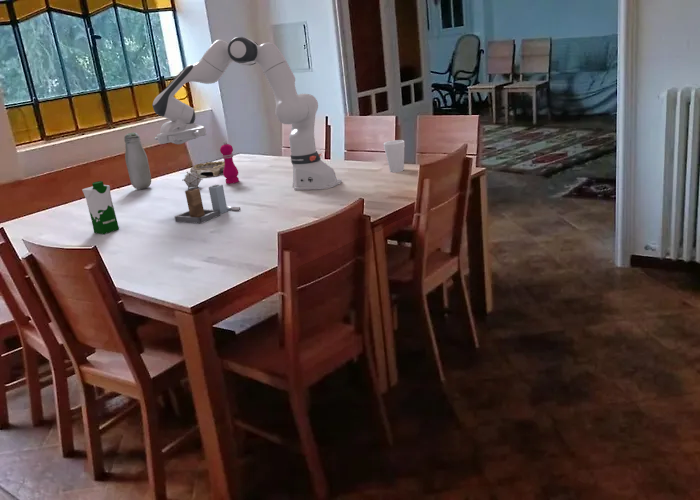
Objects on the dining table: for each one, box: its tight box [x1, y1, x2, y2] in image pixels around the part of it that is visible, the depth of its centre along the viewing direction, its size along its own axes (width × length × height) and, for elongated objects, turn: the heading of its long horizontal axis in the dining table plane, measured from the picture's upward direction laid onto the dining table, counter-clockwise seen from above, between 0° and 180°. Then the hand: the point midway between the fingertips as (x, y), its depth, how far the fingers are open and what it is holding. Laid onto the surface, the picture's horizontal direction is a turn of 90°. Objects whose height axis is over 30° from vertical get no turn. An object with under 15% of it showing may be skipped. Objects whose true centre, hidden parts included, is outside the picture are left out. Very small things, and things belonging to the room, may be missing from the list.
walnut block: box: [184, 188, 205, 217], centre depth 273 cm, size 4×4×11 cm
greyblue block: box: [208, 184, 229, 215], centre depth 278 cm, size 4×4×11 cm
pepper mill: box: [219, 140, 240, 185], centre depth 329 cm, size 7×7×20 cm
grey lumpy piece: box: [183, 171, 203, 190], centre depth 329 cm, size 9×8×10 cm
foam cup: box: [383, 139, 406, 173], centre depth 309 cm, size 10×9×13 cm
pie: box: [184, 160, 225, 179], centre depth 362 cm, size 28×27×5 cm
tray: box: [174, 208, 221, 224], centre depth 274 cm, size 14×11×2 cm
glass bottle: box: [123, 132, 152, 190], centre depth 340 cm, size 10×10×28 cm
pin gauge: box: [227, 206, 241, 212], centre depth 281 cm, size 10×2×2 cm
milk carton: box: [81, 180, 120, 235], centre depth 271 cm, size 9×9×20 cm
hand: (186, 136), depth 284 cm, fingers open, 8 cm apart
